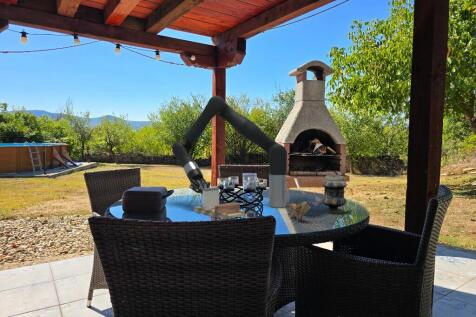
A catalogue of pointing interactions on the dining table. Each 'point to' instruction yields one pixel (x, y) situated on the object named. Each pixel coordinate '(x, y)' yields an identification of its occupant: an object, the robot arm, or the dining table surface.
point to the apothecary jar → (334, 193)
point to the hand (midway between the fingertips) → (207, 198)
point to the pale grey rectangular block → (210, 197)
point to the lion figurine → (298, 210)
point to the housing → (222, 211)
